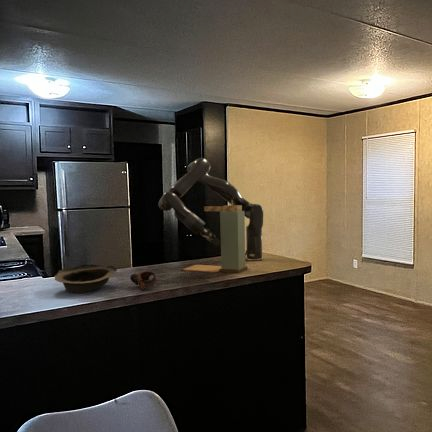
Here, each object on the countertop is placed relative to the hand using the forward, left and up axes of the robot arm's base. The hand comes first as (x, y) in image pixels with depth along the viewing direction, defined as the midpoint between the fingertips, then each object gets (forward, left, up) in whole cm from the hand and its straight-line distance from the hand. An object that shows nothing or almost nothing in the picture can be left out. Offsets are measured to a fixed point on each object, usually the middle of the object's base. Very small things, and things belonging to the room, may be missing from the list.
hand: (218, 244), depth 220 cm
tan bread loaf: (-10, +6, +16) cm, 20 cm away
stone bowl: (+2, -61, -16) cm, 63 cm away
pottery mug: (+10, -38, -16) cm, 42 cm away
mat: (-18, -3, -15) cm, 24 cm away
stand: (-7, +9, -15) cm, 19 cm away
